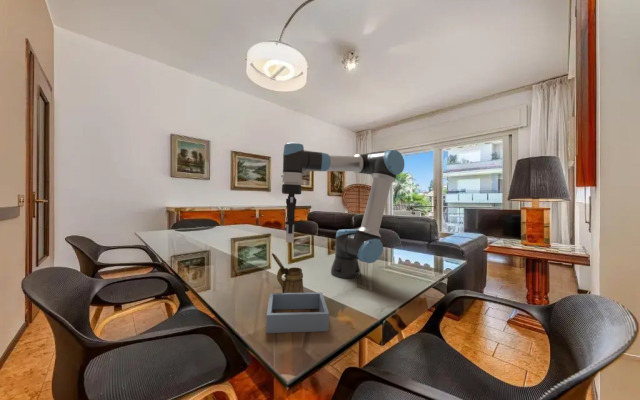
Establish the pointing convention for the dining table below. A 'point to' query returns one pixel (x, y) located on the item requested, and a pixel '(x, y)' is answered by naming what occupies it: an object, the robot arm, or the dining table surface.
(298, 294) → the box
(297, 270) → the wooden mug
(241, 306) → the dining table surface
